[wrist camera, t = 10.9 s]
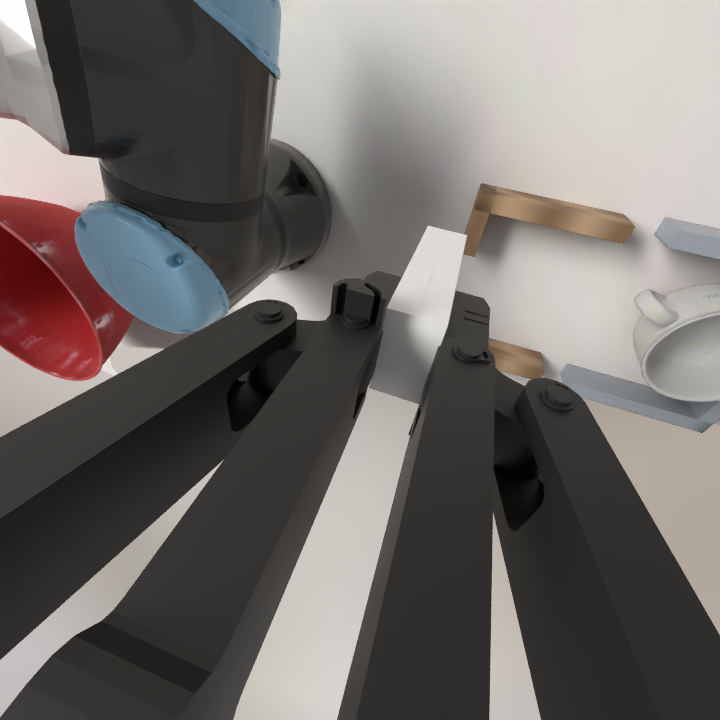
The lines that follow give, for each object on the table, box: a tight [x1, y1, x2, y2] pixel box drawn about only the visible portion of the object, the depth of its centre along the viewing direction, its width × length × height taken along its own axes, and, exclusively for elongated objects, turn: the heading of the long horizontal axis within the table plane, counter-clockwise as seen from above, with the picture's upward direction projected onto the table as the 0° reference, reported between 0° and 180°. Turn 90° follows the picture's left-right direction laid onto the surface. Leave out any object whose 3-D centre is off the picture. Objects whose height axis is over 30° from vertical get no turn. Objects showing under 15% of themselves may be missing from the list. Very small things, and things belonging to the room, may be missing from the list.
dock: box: [561, 217, 720, 433], centre depth 38 cm, size 16×20×4 cm
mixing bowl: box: [0, 195, 134, 381], centre depth 54 cm, size 28×28×16 cm
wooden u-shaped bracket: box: [463, 184, 635, 379], centre depth 40 cm, size 14×19×4 cm
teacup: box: [633, 284, 720, 402], centre depth 35 cm, size 14×11×8 cm
